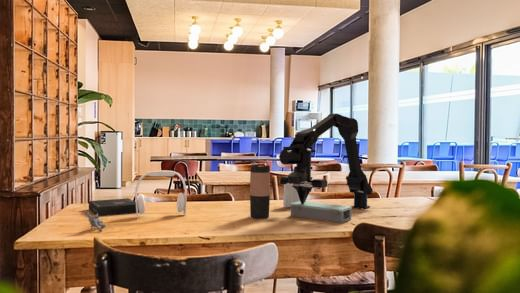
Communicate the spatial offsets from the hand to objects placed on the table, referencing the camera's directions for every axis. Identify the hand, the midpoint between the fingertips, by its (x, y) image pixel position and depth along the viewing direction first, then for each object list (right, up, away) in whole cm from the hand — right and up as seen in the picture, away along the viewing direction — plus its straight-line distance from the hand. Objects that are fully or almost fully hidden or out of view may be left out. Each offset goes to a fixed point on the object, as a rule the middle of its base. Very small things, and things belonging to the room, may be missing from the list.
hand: (302, 203), depth 187 cm
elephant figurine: (-72, -6, -27) cm, 77 cm away
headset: (-55, -5, -3) cm, 55 cm away
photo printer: (-2, -4, +22) cm, 23 cm away
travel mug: (-17, -5, -3) cm, 18 cm away
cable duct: (+7, -5, -2) cm, 9 cm away
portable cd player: (-76, -5, +7) cm, 76 cm away
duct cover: (+7, -2, -3) cm, 7 cm away
